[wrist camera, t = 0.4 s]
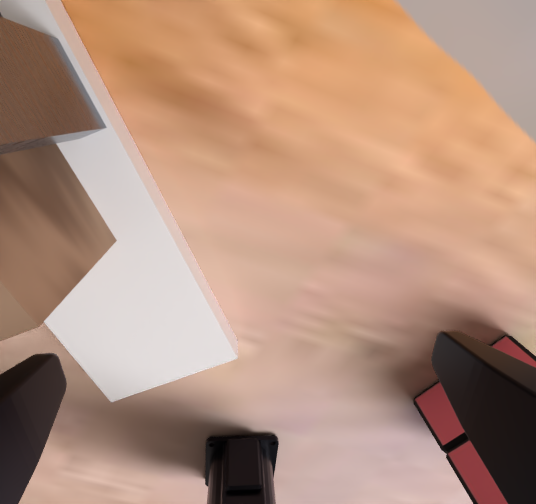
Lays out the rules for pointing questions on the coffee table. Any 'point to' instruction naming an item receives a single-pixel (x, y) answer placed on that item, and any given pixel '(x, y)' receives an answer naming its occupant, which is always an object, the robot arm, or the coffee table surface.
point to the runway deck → (128, 253)
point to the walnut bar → (43, 236)
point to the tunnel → (40, 92)
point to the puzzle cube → (455, 439)
